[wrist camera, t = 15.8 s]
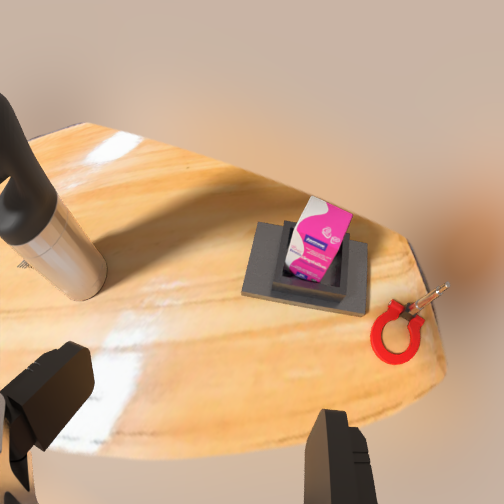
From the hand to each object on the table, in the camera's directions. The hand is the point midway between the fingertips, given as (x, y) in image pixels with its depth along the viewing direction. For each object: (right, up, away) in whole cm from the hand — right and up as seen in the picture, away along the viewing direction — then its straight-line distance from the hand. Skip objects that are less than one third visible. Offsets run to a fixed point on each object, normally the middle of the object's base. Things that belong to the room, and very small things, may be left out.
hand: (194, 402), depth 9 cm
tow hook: (+23, -8, +32) cm, 40 cm away
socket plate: (+10, +2, +37) cm, 38 cm away
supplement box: (+10, +3, +36) cm, 37 cm away
